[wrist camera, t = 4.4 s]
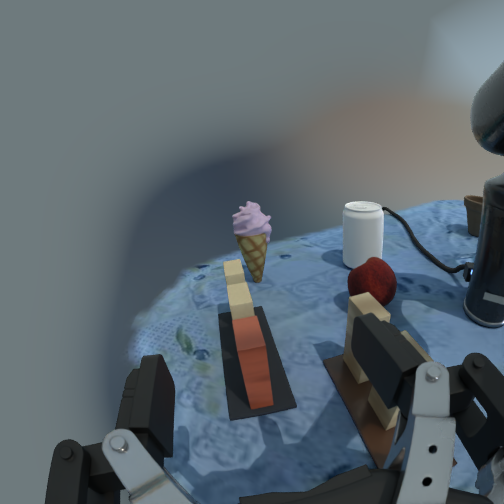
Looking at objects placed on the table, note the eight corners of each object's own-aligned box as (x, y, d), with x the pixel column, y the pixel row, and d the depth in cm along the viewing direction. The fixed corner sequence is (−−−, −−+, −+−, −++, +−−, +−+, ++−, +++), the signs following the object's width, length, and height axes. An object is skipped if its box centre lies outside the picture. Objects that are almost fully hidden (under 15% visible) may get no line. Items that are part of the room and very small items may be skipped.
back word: (218, 315, 42) (207, 262, 39) (262, 307, 43) (255, 254, 40) (230, 420, 24) (209, 361, 20) (296, 407, 25) (295, 344, 21)
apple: (373, 289, 43) (377, 245, 40) (403, 310, 36) (411, 263, 33) (338, 302, 41) (340, 256, 38) (367, 328, 34) (373, 278, 31)
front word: (323, 362, 30) (325, 298, 27) (372, 346, 31) (382, 283, 27) (394, 502, 12) (439, 465, 8) (455, 464, 13) (507, 409, 9)
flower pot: (492, 231, 57) (496, 198, 53) (496, 244, 49) (501, 207, 45) (461, 225, 64) (463, 193, 60) (461, 236, 57) (465, 200, 53)
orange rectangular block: (245, 379, 29) (232, 319, 26) (265, 376, 29) (256, 315, 26) (250, 409, 25) (237, 350, 21) (273, 405, 25) (265, 345, 22)
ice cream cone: (276, 271, 54) (268, 197, 48) (278, 287, 48) (270, 204, 43) (243, 275, 55) (231, 201, 49) (241, 291, 49) (228, 209, 43)
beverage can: (380, 274, 47) (384, 212, 43) (340, 271, 51) (339, 210, 46) (381, 256, 54) (383, 201, 49) (345, 254, 57) (344, 200, 53)
